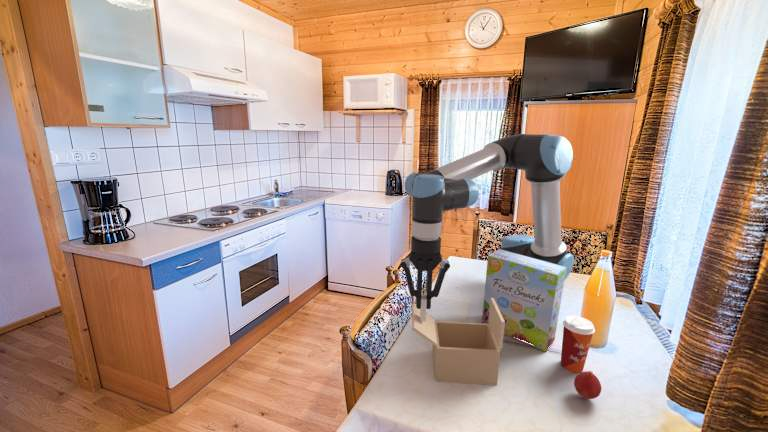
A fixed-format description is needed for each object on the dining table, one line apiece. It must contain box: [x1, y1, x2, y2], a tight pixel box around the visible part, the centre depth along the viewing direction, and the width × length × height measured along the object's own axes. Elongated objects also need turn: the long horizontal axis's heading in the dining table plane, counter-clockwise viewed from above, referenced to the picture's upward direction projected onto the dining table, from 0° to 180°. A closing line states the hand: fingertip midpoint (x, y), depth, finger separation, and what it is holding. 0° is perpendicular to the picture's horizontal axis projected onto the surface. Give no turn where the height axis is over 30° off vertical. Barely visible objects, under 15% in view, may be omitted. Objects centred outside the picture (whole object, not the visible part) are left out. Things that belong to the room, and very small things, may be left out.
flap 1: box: [411, 302, 437, 346], centre depth 95 cm, size 8×12×1 cm
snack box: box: [481, 248, 567, 353], centre depth 110 cm, size 22×9×26 cm, turn 47°
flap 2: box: [488, 298, 505, 350], centre depth 93 cm, size 8×12×1 cm
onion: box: [573, 370, 602, 400], centre depth 86 cm, size 6×6×8 cm
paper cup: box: [560, 315, 596, 374], centre depth 96 cm, size 8×8×14 cm
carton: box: [431, 320, 501, 386], centre depth 96 cm, size 16×13×10 cm
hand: (422, 318), depth 94 cm, fingers closed
